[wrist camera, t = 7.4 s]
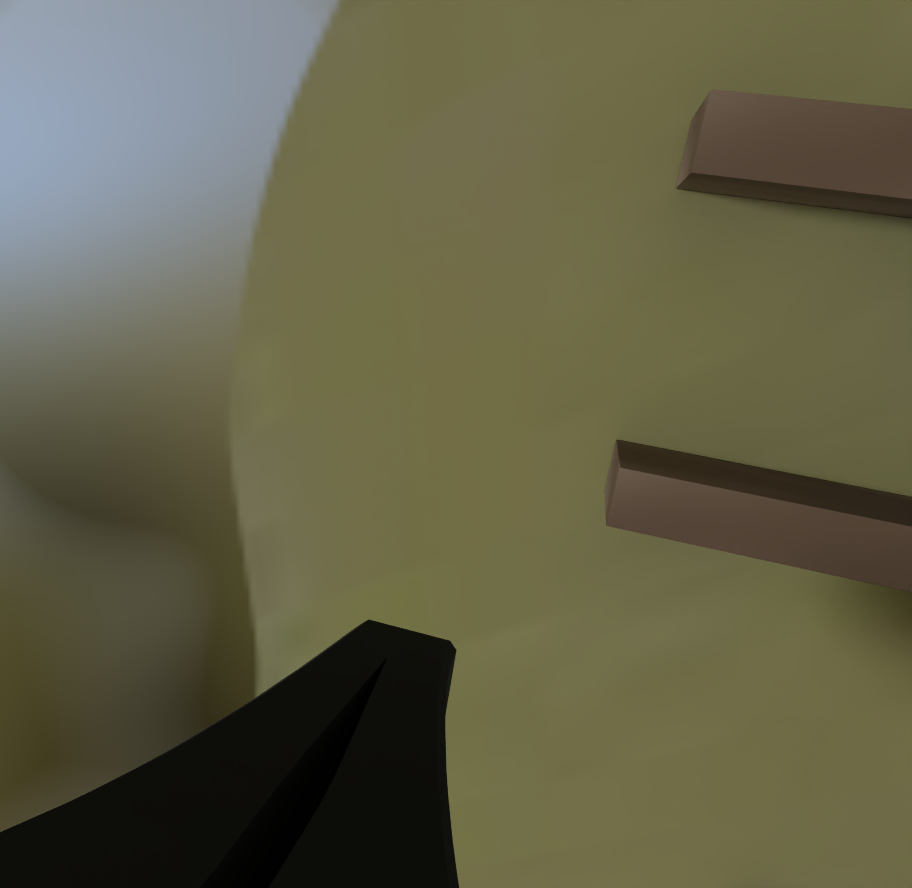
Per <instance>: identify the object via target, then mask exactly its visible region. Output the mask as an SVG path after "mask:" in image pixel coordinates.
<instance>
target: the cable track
mask: <svg viewBox="0 0 912 888" xmlns="http://www.w3.org/2000/svg"><path fill="white" fill-rule="evenodd" d="M676 189H684V190H692V191H700V192H708V193H716V194H724V195H732V196H740V197H748V198H756V199H764V200H772V201H780V202H787V203H795V204H803V205H811V206H819V207H827V208H835V209H843V210H851V211H859V212H867V213H875V214H883V215H891V216H899V217H907V218H912V109H905V108H895V107H885V106H875V105H865V104H855V103H845V102H835V101H825V100H814V99H804V98H794V97H784V96H774V95H764V94H754V93H744V92H734V91H723V90H713V89H711V91H710V92H709V94H708V95H707V97H706V98H705V100H704V101H703V103H702V105H701V106H700V108H699V109H698V111H697V112H696V114H695V115H694V117H693V118H692V121H691V125H690V129H689V133H688V138H687V142H686V146H685V150H684V155H683V159H682V163H681V167H680V172H679V176H678V180H677V184H676ZM605 510H606V526H610V527H615V528H620V529H624V530H629V531H633V532H638V533H642V534H647V535H652V536H656V537H661V538H665V539H670V540H674V541H679V542H684V543H688V544H693V545H697V546H702V547H706V548H711V549H716V550H720V551H725V552H729V553H734V554H738V555H743V556H748V557H752V558H757V559H761V560H766V561H770V562H775V563H780V564H784V565H789V566H793V567H798V568H802V569H807V570H812V571H816V572H821V573H825V574H830V575H834V576H839V577H844V578H848V579H853V580H857V581H862V582H866V583H871V584H876V585H880V586H885V587H889V588H894V589H898V590H903V591H908V592H912V497H908V496H902V495H897V494H892V493H887V492H882V491H877V490H872V489H867V488H861V487H856V486H851V485H846V484H841V483H836V482H831V481H826V480H820V479H815V478H810V477H805V476H800V475H795V474H790V473H785V472H779V471H774V470H769V469H764V468H759V467H754V466H749V465H744V464H738V463H733V462H728V461H723V460H718V459H713V458H708V457H703V456H697V455H692V454H687V453H682V452H677V451H672V450H667V449H662V448H656V447H651V446H646V445H641V444H636V443H631V442H626V441H621V440H616V444H615V448H614V452H613V456H612V461H611V465H610V469H609V473H608V478H607V482H606V486H605Z"/></svg>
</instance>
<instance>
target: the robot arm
mask: <svg viewBox="0 0 912 888" xmlns="http://www.w3.org/2000/svg"><path fill="white" fill-rule="evenodd" d="M455 655H456V649H455V647H454V646H453V644H452V643H451V641H449V640H445V639H441V638H437V637H434V636H430V635H426V634H422V633H418V632H414V631H411V630H407V629H403V628H399V627H395V626H391V625H388V624H384V623H380V622H376V621H372V620H367V621H365V622H364V623H362V624H360V625H359V626H357V627H356V628H355V629H353V630H352V631H350V632H349V633H348V634H346V635H345V636H344V637H342V638H341V639H340V640H338V641H337V642H335V643H334V644H333V645H331V646H330V647H329V648H327V649H326V650H324V651H323V652H322V653H320V654H319V655H317V656H316V657H315V658H313V659H312V660H310V661H309V662H308V663H306V664H305V665H303V666H302V667H301V668H299V669H298V670H296V671H295V672H293V673H292V674H290V675H289V676H287V677H286V678H284V679H283V680H281V681H280V682H278V683H277V684H275V685H274V686H272V687H271V688H269V689H268V690H267V691H265V692H264V693H262V694H261V695H259V696H258V697H256V698H255V699H253V700H252V701H250V702H248V703H247V704H245V705H244V706H242V707H241V708H239V709H237V710H236V711H234V712H232V713H231V714H229V715H227V716H226V717H224V718H223V719H221V720H219V721H218V722H216V723H214V724H213V725H211V726H209V727H208V728H206V729H204V730H203V731H201V732H199V733H198V734H196V735H194V736H193V737H191V738H190V739H188V740H186V741H185V742H183V743H181V744H179V745H178V746H176V747H174V748H172V749H170V750H169V751H167V752H165V753H163V754H161V755H160V756H158V757H156V758H154V759H152V760H151V761H149V762H147V763H145V764H143V765H141V766H139V767H138V768H136V769H134V770H132V771H130V772H129V773H126V774H124V775H122V776H120V777H118V778H116V779H114V780H112V781H110V782H109V783H107V784H105V785H103V786H101V787H99V788H97V789H95V790H93V791H91V792H89V793H87V794H85V795H82V796H80V797H78V798H76V799H74V800H72V801H70V802H68V803H66V804H63V805H61V806H59V807H57V808H54V809H52V810H50V811H47V812H45V813H43V814H41V815H39V816H36V817H34V818H32V819H29V820H27V821H25V822H22V823H21V824H18V825H16V826H13V827H11V828H9V829H7V830H4V831H2V832H0V888H459V884H458V877H457V870H456V863H455V855H454V847H453V839H452V830H451V820H450V810H449V800H448V787H447V772H446V741H445V714H446V708H447V702H448V696H449V690H450V685H451V679H452V673H453V667H454V661H455Z"/></svg>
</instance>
